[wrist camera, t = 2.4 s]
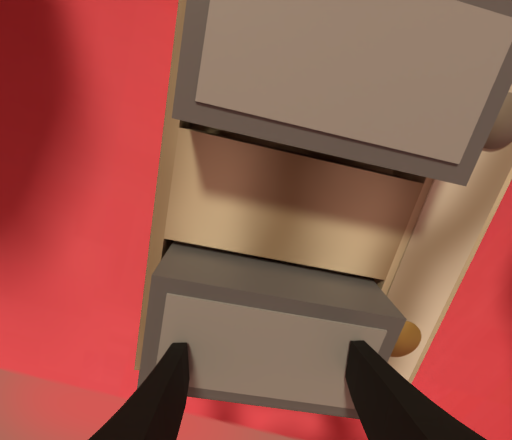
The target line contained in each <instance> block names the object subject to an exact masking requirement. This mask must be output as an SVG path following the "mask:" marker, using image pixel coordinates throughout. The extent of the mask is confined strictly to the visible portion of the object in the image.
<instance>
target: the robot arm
mask: <svg viewBox="0 0 512 440" xmlns="http://www.w3.org/2000/svg"><path fill="white" fill-rule="evenodd" d="M345 378H346V382H347V385H348V389H349V392H350V395H351V398H352V402H353V404H354V406H355V409H356V411H357V414H358V416H359V418H360V421H361V423H362V426H363V428H364V430H365V433H366V435H367V437H368V440H486V439H485V438H483V437H482V436H480V435H479V434H477V433H476V432H474V431H473V430H471V429H470V428H468V427H467V426H465V425H464V424H462V423H461V422H459V421H458V420H456V419H455V418H454V417H452V416H451V415H450V414H448V413H447V412H446V411H444V410H443V409H442V408H440V407H439V406H437V405H436V404H435V403H434V402H432V401H431V400H430V399H429V398H427V397H426V396H425V395H424V394H423V393H421V392H420V391H419V390H418V389H416V388H415V387H414V386H413V385H412V384H411V383H409V382H408V381H407V380H406V379H405V378H404V377H403V376H402V375H400V374H399V373H398V372H397V371H396V370H395V369H394V368H393V367H392V366H391V365H390V364H388V363H387V362H386V361H385V360H384V359H383V358H382V357H381V356H380V355H379V354H378V353H377V352H376V351H375V350H374V349H373V348H372V347H371V346H370V345H368V344H367V343H366V342H365V341H364V340H356V341H350V348H349V354H348V361H347V368H346V375H345ZM189 380H190V377H189V362H188V347H187V342H180V343H172V344H171V345H170V346H169V348H168V349H167V351H166V352H165V354H164V355H163V357H162V358H161V359H160V361H159V362H158V363H157V365H156V366H155V367H154V369H153V370H152V371H151V373H150V374H149V375H148V376H147V378H146V379H145V380H144V382H143V383H142V384H141V385H140V386H139V388H138V389H137V390H136V391H135V392H134V393H133V395H132V396H131V397H130V398H129V399H128V400H127V402H126V403H125V404H124V405H123V406H122V407H121V408H120V409H119V410H118V411H117V412H116V413H115V414H114V415H113V416H112V417H111V419H109V420H108V421H107V423H105V424H104V425H103V426H102V427H101V428H100V429H99V430H98V431H97V432H96V433H95V434H94V435H93V436H92V437H91V438H90V439H89V440H176V438H177V435H178V431H179V428H180V424H181V420H182V416H183V413H184V409H185V405H186V399H187V393H188V387H189Z"/></svg>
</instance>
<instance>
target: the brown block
mask: <svg viewBox="0 0 512 440" xmlns="http://www.w3.org/2000/svg"><path fill="white" fill-rule="evenodd" d="M406 320H407V319H406V318H405V317H404V316H403V314H402V313H401V312H400V311H399V310H398V309H397V307H396V306H395V305H394V304H393V303H392V302H391V300H390V299H389V298H388V297H387V296H386V295H385V293H384V292H383V291H382V290H381V289H380V288H379V287H378V285H377V284H376V283H375V282H374V281H373V280H372V279H369V278H364V277H358V276H353V275H348V274H342V273H337V272H332V271H326V270H321V269H316V268H310V267H305V266H300V265H294V264H289V263H284V262H278V261H273V260H268V259H262V258H257V257H252V256H246V255H241V254H236V253H230V252H225V251H220V250H214V249H209V248H204V247H198V246H193V245H188V244H182V243H177V242H173V243H172V244H171V246H170V247H169V249H168V250H167V252H166V253H165V255H164V257H163V258H162V260H161V261H160V263H159V264H158V266H157V267H156V269H155V271H154V272H153V274H152V276H151V284H150V292H149V300H148V308H147V316H146V324H145V331H144V339H143V347H142V355H141V363H140V371H139V379H138V386H137V389H138V388H139V386H140V385H141V384H142V383H143V382H144V380H145V379H146V378H147V376H148V375H149V374H150V373H151V371H152V370H153V369H154V367H155V366H156V365H157V363H158V362H159V361H160V359H161V358H162V357H163V355H164V354H165V352H166V351H167V349H168V348H169V346H170V345H171V344H172V343H180V342H187V347H188V362H189V377H190V380H189V387H188V393H187V396H188V397H196V398H203V399H211V400H219V401H226V402H234V403H241V404H249V405H256V406H264V407H271V408H279V409H287V410H294V411H302V412H309V413H317V414H324V415H332V416H340V417H347V418H355V419H360V418H359V416H358V414H357V411H356V409H355V406H354V404H353V402H352V398H351V395H350V392H349V389H348V385H347V382H346V378H345V375H346V368H347V361H348V354H349V348H350V341H356V340H364V341H365V342H366V343H367V344H368V345H370V346H371V347H372V348H373V349H374V350H375V351H376V352H377V353H378V354H379V355H380V356H381V357H382V358H383V359H384V360H385V361H386V362H388V360H389V358H390V356H391V353H392V351H393V349H394V347H395V344H396V342H397V340H398V338H399V335H400V333H401V331H402V329H403V327H404V324H405V322H406Z"/></svg>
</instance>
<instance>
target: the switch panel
mask: <svg viewBox="0 0 512 440" xmlns="http://www.w3.org/2000/svg"><path fill="white" fill-rule="evenodd" d="M186 1H187V0H179V3H178V11H177V19H176V28H175V36H174V44H173V53H172V61H171V69H170V77H169V86H168V94H167V102H166V111H165V119H164V127H163V136H162V144H161V152H160V161H159V169H158V177H157V186H156V194H155V202H154V210H153V219H152V227H151V235H150V244H149V252H148V260H147V269H146V277H145V285H144V294H143V302H142V310H141V319H140V327H139V335H138V343H137V352H136V360H135V368H134V370H140V363H141V355H142V347H143V339H144V331H145V324H146V316H147V308H148V300H149V292H150V284H151V276H152V274H153V272H154V271H155V269H156V267H157V266H158V264H159V263H160V261H161V260H162V258H163V257H164V255H165V253H166V252H167V250H168V249H169V247H170V246H171V244H172V243H173V242H177V243H182V244H188V245H193V246H198V247H204V248H209V249H214V250H220V251H225V252H230V253H236V254H241V255H246V256H252V257H257V258H262V259H268V260H273V261H278V262H284V263H289V264H294V265H300V266H305V267H310V268H316V269H321V270H326V271H332V272H337V273H342V274H348V275H353V276H358V277H364V278H369V279H372V280H373V281H374V282H375V283H376V284H377V285H378V287H379V288H380V289H381V290H382V291H383V292H384V293H385V295H386V296H387V297H388V298H389V299H390V300H391V302H392V303H393V304H394V305H395V306H396V307H397V309H398V310H399V311H400V312H401V313H402V314H403V316H404V317H405V318H406V319H407V320H406V322H405V324H404V327H403V329H402V331H401V333H400V335H399V338H398V340H397V342H396V344H395V347H394V349H393V351H392V353H391V356H390V358H389V360H388V362H387V363H388V364H390V365H391V366H392V367H393V368H394V369H395V370H396V371H397V372H398V373H399V374H400V375H402V376H403V377H404V378H405V379H406V380H407V381H408V382H409V383H412V381H413V379H414V377H415V375H416V373H417V371H418V369H419V367H420V365H421V363H422V361H423V359H424V357H425V355H426V353H427V350H428V348H429V346H430V344H431V342H432V340H433V338H434V336H435V334H436V332H437V330H438V328H439V326H440V324H441V322H442V320H443V318H444V316H445V314H446V312H447V310H448V308H449V306H450V304H451V302H452V300H453V298H454V296H455V293H456V291H457V289H458V287H459V285H460V283H461V281H462V279H463V277H464V275H465V273H466V271H467V269H468V267H469V265H470V263H471V261H472V259H473V257H474V255H475V253H476V251H477V249H478V247H479V245H480V243H481V241H482V238H483V236H484V234H485V232H486V230H487V228H488V226H489V224H490V222H491V220H492V218H493V216H494V214H495V212H496V210H497V208H498V206H499V204H500V202H501V200H502V198H503V196H504V194H505V192H506V190H507V188H508V186H509V184H510V181H511V179H512V85H511V87H510V89H509V92H508V94H507V96H506V98H505V100H504V103H503V105H502V107H501V109H500V112H499V114H498V116H497V118H496V121H495V123H494V125H493V127H492V130H491V132H490V134H489V136H488V139H487V141H486V143H485V145H484V147H483V150H482V152H481V154H480V156H479V159H478V161H477V163H476V165H475V168H474V170H473V172H472V174H471V177H470V179H469V181H468V183H467V186H462V185H457V184H453V183H449V182H445V181H440V180H436V179H432V178H427V177H423V176H419V175H414V174H410V173H406V172H401V171H397V170H393V169H389V168H384V167H380V166H376V165H371V164H367V163H363V162H358V161H354V160H350V159H345V158H341V157H337V156H333V155H328V154H324V153H320V152H315V151H311V150H307V149H302V148H298V147H294V146H289V145H285V144H281V143H277V142H272V141H268V140H264V139H259V138H255V137H251V136H246V135H242V134H238V133H233V132H229V131H225V130H220V129H216V128H212V127H208V126H203V125H199V124H195V123H190V122H186V121H182V120H177V119H173V118H172V111H173V103H174V96H175V88H176V80H177V72H178V64H179V56H180V48H181V41H182V33H183V25H184V17H185V9H186Z"/></svg>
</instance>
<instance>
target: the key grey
mask: <svg viewBox="0 0 512 440" xmlns="http://www.w3.org/2000/svg"><path fill="white" fill-rule="evenodd" d="M511 85H512V0H187V1H186V9H185V17H184V25H183V33H182V41H181V48H180V56H179V64H178V72H177V80H176V88H175V96H174V103H173V111H172V118H173V119H177V120H182V121H186V122H190V123H195V124H199V125H203V126H208V127H212V128H216V129H220V130H225V131H229V132H233V133H238V134H242V135H246V136H251V137H255V138H259V139H264V140H268V141H272V142H277V143H281V144H285V145H289V146H294V147H298V148H302V149H307V150H311V151H315V152H320V153H324V154H328V155H333V156H337V157H341V158H345V159H350V160H354V161H358V162H363V163H367V164H371V165H376V166H380V167H384V168H389V169H393V170H397V171H401V172H406V173H410V174H414V175H419V176H423V177H427V178H432V179H436V180H440V181H445V182H449V183H453V184H457V185H462V186H467V183H468V181H469V179H470V177H471V174H472V172H473V170H474V168H475V165H476V163H477V161H478V159H479V156H480V154H481V152H482V150H483V147H484V145H485V143H486V141H487V139H488V136H489V134H490V132H491V130H492V127H493V125H494V123H495V121H496V118H497V116H498V114H499V112H500V109H501V107H502V105H503V103H504V100H505V98H506V96H507V94H508V92H509V89H510V87H511Z"/></svg>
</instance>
